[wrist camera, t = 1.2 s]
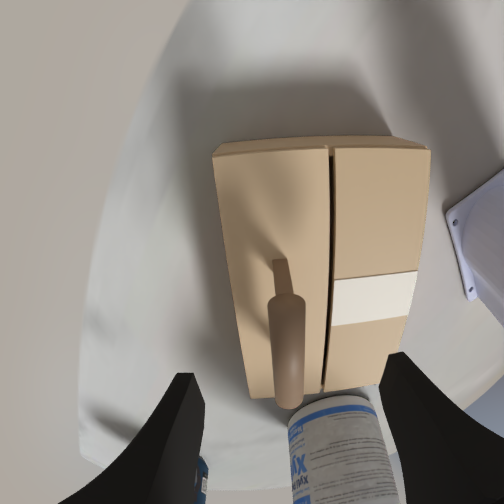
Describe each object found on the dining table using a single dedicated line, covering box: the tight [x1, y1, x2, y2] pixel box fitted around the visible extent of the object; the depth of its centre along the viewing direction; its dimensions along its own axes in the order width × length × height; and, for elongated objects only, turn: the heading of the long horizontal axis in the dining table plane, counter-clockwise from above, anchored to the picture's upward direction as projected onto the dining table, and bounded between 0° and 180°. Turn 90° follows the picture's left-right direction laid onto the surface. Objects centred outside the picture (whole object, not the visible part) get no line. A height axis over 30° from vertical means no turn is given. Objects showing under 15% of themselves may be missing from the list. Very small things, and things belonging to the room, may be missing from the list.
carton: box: [212, 135, 431, 392], centre depth 17 cm, size 10×16×4 cm, turn 6°
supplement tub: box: [288, 395, 400, 504], centre depth 21 cm, size 10×10×15 cm
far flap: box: [212, 147, 330, 409], centre depth 14 cm, size 5×16×5 cm, turn 6°
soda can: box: [194, 456, 208, 504], centre depth 28 cm, size 7×7×12 cm
